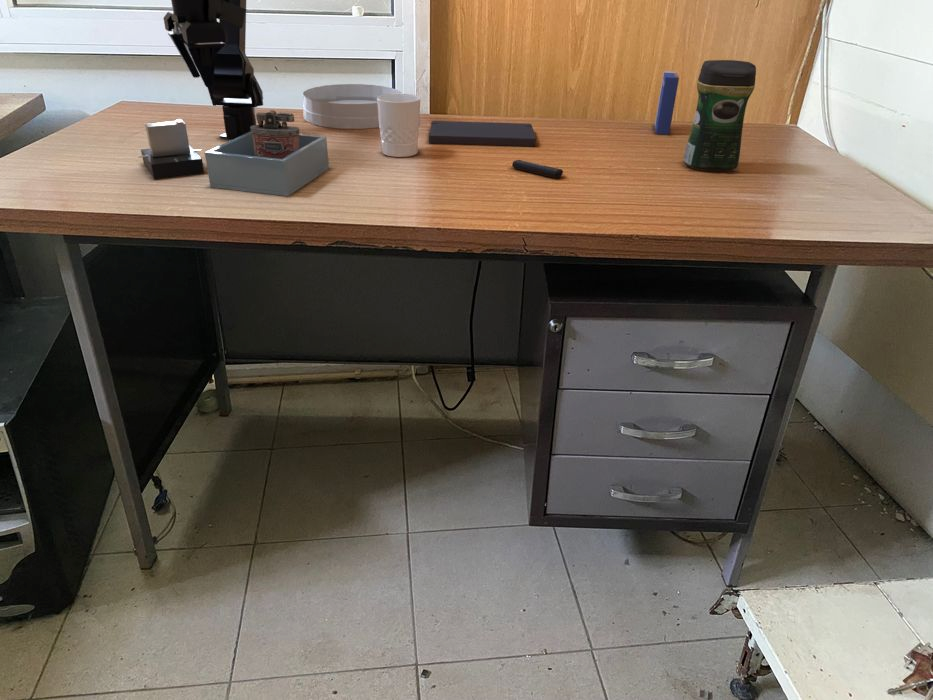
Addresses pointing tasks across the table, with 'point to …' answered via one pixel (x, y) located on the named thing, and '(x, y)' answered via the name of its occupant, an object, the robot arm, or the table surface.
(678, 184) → the table surface
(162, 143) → the red-capped metal block
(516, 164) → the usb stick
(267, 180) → the basin
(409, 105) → the white cup
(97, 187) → the table surface
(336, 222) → the table surface
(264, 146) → the lighter
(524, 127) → the notebook
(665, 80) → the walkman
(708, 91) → the coffee jar
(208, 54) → the robot arm
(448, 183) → the table surface
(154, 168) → the panel
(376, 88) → the dish
